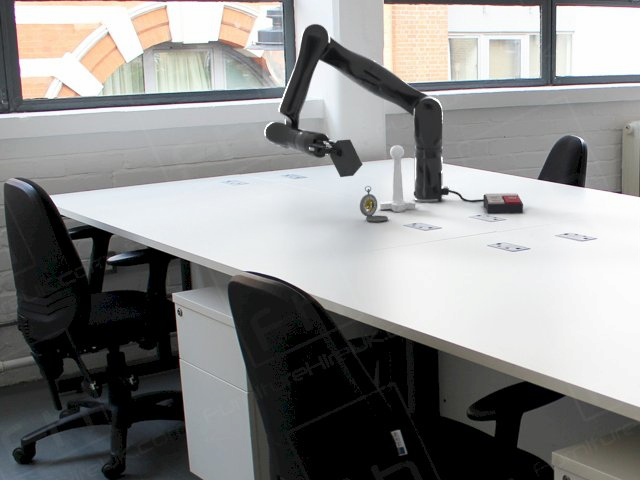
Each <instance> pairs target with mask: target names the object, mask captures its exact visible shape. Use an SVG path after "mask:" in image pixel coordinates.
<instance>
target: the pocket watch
mask: <svg viewBox="0 0 640 480" xmlns="http://www.w3.org/2000/svg"><path fill="white" fill-rule="evenodd" d="M364 191H365V192H367V194H364V196H362V198H361V200H360V203H359V210H360V213H361V214H362V215H363V216H365V220H366V221H368V222H373V223H380V222H385V221H388V219H389V217H388V216H386V215H375V214H376V212H377V209H378V200H377V198H376V196H375V195H373V194H371V191H372V187H371V186H370V185H366V186H365V187H364Z"/></svg>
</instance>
